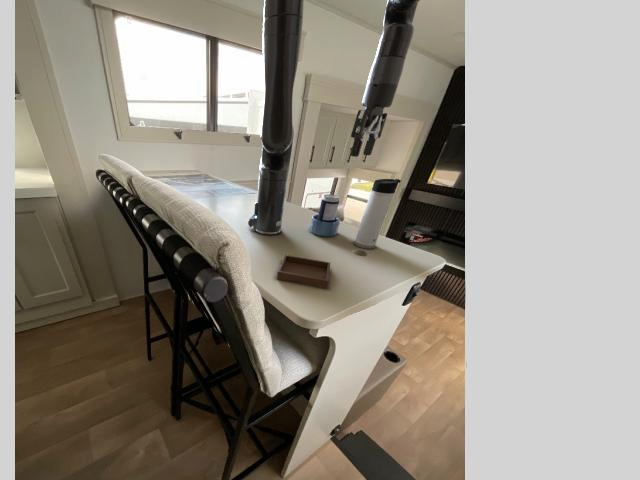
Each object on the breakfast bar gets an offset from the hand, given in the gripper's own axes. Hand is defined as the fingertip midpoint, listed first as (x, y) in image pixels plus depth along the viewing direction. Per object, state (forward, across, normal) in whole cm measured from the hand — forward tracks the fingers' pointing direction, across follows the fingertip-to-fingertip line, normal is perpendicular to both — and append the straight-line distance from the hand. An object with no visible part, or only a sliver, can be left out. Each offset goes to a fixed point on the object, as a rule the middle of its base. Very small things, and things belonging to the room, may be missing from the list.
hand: (360, 155), depth 74 cm
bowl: (+25, +1, -5) cm, 25 cm away
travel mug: (+25, 0, +10) cm, 27 cm away
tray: (+25, +32, +8) cm, 41 cm away
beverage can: (+24, +1, -5) cm, 25 cm away
